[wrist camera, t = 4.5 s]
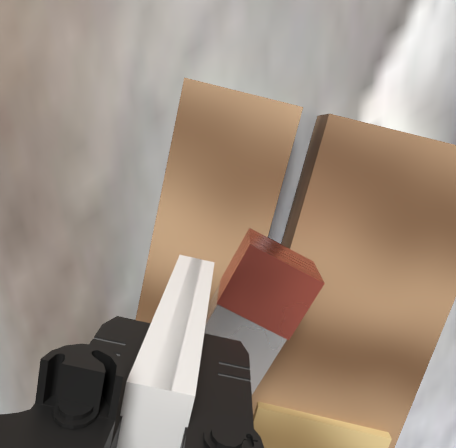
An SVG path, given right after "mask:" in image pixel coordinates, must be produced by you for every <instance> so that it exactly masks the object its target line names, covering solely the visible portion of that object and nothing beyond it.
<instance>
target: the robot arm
mask: <svg viewBox="0 0 456 448" xmlns="http://www.w3.org/2000/svg"><path fill="white" fill-rule="evenodd" d="M213 269H214V262H211V261H206V260H202V259H197V258H193V257H188V256H183V255H179V258H178V260H177V262H176V265H175V267H174V270H173V272H172V274H171V277H170V279H169V282H168V284H167V286H166V289H165V291H164V293H163V296H162V298H161V301H160V303H159V305H158V308H157V310H156V312H155V315H154V317H153V320H152V322H151V323H147V322H142V321H137V320H133V319H128V318H123V317H119V316H117V317H115V318H113V319H111V320H110V321H108V322H106V323H104V324H102V326H101V327H100V329H99V330H98V332H97V333H96V335H95V336H94V339H92V341H91V342H90V344H89V345H87V344H76V345H67V346H63V347H61V348H58V349H55V350H52V351H50V352H49V353H48V354H47V355H45V356H44V357H43V358H41V361H40V369H39V377H38V385H37V393H36V401H35V404H34V405H33V407H32V408H31V409H30V410H26V411H23V412H19V413H12V414H1V415H0V448H264V446H263V443H262V440H261V437H260V436H259V434H258V433H257V432H256V431H255V429H254V423H253V407H252V391H251V382H250V380H251V375H250V360H249V353H248V352H247V350H246V349H245V347H244V346H243V344H242V343H241V341H238V340H233V339H229V338H224V337H219V336H215V335H210V334H205V333H204V332H205V325H206V318H207V311H208V304H209V297H210V290H211V283H212V276H213Z"/></svg>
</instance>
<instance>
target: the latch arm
mask: <svg viewBox="0 0 456 448" xmlns="http://www.w3.org/2000/svg"><path fill="white" fill-rule="evenodd" d="M324 284H325V283H324V281H323V279H322V277H321V275H320V273H319V271H318V269H317V267H316V265H315V263H314V261H312V260H310V259H308V258H306V257H304V256H302V255H300V254H299V253H297V252H295V251H293V250H291V249H289V248H287V247H285V246H283V245H281V244H279V243H278V242H276V241H274V240H272V239H270V238H268V237H266V236H264V235H262V234H260V233H259V232H257V231H255V230H253V229H251V228H249V229H248V231H247V233H246V235H245V236H244V238H243V240H242V242H241V244H240V245H239V247H238V249H237V251H236V253H235V254H234V256H233V258H232V260H231V262H230V263H229V265H228V267H227V269H226V270H225V272H224V274H223V276H222V278H221V280H220V284H219V286H218V288H217V290H216V291H215V293H214V295H213V297H212V299H211V300H210V302H209V304H208V311H207V318H206V325H205V332H204V333H205V334H210V335H215V336H219V337H224V338H229V339H233V340H238V341H241V343H242V344H243V346H244V347H245V349H246V350H247V352H248V353H249V360H250V375H251V380H250V382H251V391H252V394H253V393H254V391H255V389H256V388H257V386H258V385H259V383H260V382H261V380H262V378H263V377H264V375H265V374H266V372H267V370H268V369H269V367H270V366H271V364H272V363H273V361H274V359H275V358H276V356H277V355H278V353H279V351H280V350H281V348H282V347H283V345H284V343H285V342H286V340H289V339H290V338H291V336H292V335H293V333H294V332H295V330H296V328H297V327H298V325H299V324H300V322H301V320H302V319H303V317H304V316H305V314H306V313H307V311H308V309H309V308H310V306H311V305H312V303H313V301H314V300H315V298H316V297H317V295H318V294H319V292H320V290H321V289H322V287H323V286H324Z"/></svg>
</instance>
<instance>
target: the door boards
mask: <svg viewBox="0 0 456 448" xmlns="http://www.w3.org/2000/svg"><path fill="white" fill-rule="evenodd" d="M302 110H303V107H300V106H296V105H292V104H288V103H284V102H280V101H276V100H272V99H268V98H264V97H260V96H256V95H252V94H248V93H244V92H240V91H236V90H232V89H228V88H224V87H220V86H216V85H212V84H208V83H204V82H200V81H196V80H192V79H188V78H184V82H183V87H182V92H181V97H180V102H179V107H178V112H177V117H176V122H175V127H174V132H173V137H172V142H171V147H170V152H169V157H168V162H167V167H166V172H165V176H164V181H163V186H162V191H161V196H160V201H159V206H158V211H157V216H156V221H155V226H154V231H153V236H152V241H151V246H150V251H149V256H148V261H147V266H146V271H145V276H144V281H143V286H142V291H141V296H140V300H139V305H138V310H137V315H136V320H137V321H142V322H147V323H151V322H152V320H153V317H154V315H155V312H156V310H157V308H158V305H159V303H160V301H161V298H162V296H163V293H164V291H165V289H166V286H167V284H168V282H169V279H170V277H171V274H172V272H173V270H174V267H175V265H176V262H177V260H178V258H179V255H183V256H188V257H193V258H197V259H202V260H206V261H211V262H214V269H213V276H212V283H211V290H210V297H209V302H210V300H211V299H212V297H213V295H214V293H215V291H216V290H217V288H218V286H219V284H220V280H221V278H222V276H223V274H224V272H225V270H226V269H227V267H228V265H229V263H230V262H231V260H232V258H233V256H234V254H235V253H236V251H237V249H238V247H239V245H240V244H241V242H242V240H243V238H244V236H245V235H246V233H247V231H248V229H249V228H251V229H253V230H255V231H257V232H259V233H260V234H262V235H264V236H266V237H268V234H269V230H270V226H271V223H272V219H273V216H274V212H275V208H276V205H277V201H278V197H279V194H280V190H281V186H282V183H283V179H284V175H285V172H286V168H287V164H288V161H289V157H290V153H291V150H292V146H293V142H294V139H295V135H296V132H297V128H298V124H299V121H300V117H301V113H302ZM281 245H283V246H285V247H287V248H289V249H291V250H293V251H295V252H297V253H299V254H300V255H302V256H304V257H306V258H308V259H310V260H312V261H314V263H315V265H316V267H317V269H318V271H319V273H320V275H321V277H322V279H323V281H324V283H325V284H324V286H323V287H322V289H321V290H320V292H319V294H318V295H317V297H316V298H315V300H314V301H313V303H312V305H311V306H310V308H309V309H308V311H307V313H306V314H305V316H304V317H303V319H302V320H301V322H300V324H299V325H298V327H297V328H296V330H295V332H294V333H293V335H292V336H291V338H290V339H289V340H286V342H285V343H284V345H283V347H282V348H281V350H280V351H279V353H278V355H277V356H276V358H275V359H274V361H273V363H272V364H271V366H270V367H269V369H268V370H267V372H266V374H265V375H264V377H263V378H262V380H261V382H260V383H259V385H258V386H257V388H256V389H255V391H254V393H253V394H252V407H253V423H254V429H255V431H256V432H257V433H258V434H259V436H260V437H261V440H262V443H263V446H264V448H394V447H395V445H396V442H397V440H398V438H399V435H400V433H401V430H402V428H403V425H404V423H405V420H406V418H407V415H408V413H409V410H410V408H411V406H412V403H413V401H414V398H415V396H416V393H417V391H418V388H419V386H420V383H421V381H422V379H423V376H424V374H425V371H426V369H427V366H428V364H429V361H430V359H431V356H432V354H433V352H434V349H435V347H436V344H437V342H438V339H439V337H440V334H441V332H442V329H443V327H444V325H445V322H446V320H447V317H448V315H449V312H450V310H451V307H452V305H453V302H454V300H455V297H456V145H453V144H449V143H445V142H441V141H437V140H433V139H429V138H425V137H421V136H417V135H413V134H409V133H405V132H401V131H397V130H393V129H389V128H385V127H381V126H377V125H373V124H369V123H365V122H361V121H357V120H353V119H349V118H345V117H341V116H337V115H333V114H325V115H320V116H317V120H316V123H315V127H314V130H313V134H312V137H311V141H310V144H309V148H308V151H307V155H306V158H305V162H304V165H303V169H302V172H301V176H300V180H299V183H298V187H297V190H296V194H295V197H294V201H293V204H292V208H291V211H290V215H289V218H288V222H287V225H286V229H285V232H284V236H283V239H282V243H281Z"/></svg>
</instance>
